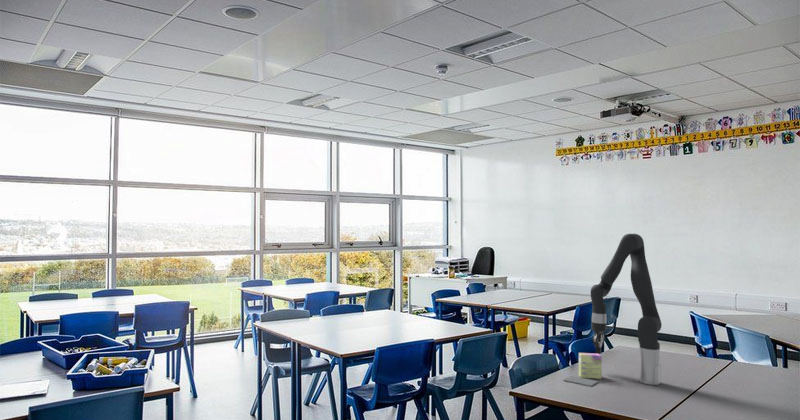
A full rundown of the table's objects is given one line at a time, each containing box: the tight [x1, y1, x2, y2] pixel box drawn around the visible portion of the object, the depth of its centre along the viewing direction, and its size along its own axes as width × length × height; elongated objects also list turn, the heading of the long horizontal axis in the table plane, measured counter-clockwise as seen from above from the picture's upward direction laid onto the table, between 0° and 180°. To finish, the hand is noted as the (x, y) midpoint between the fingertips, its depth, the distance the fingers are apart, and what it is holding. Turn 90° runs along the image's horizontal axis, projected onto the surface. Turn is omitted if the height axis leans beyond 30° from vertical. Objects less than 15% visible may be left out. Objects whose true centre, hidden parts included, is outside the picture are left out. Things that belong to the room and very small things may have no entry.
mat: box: [563, 375, 600, 388], centre depth 267 cm, size 14×10×1 cm
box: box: [578, 352, 603, 380], centre depth 276 cm, size 10×6×12 cm, turn 84°
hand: (598, 353), depth 286 cm, fingers closed
